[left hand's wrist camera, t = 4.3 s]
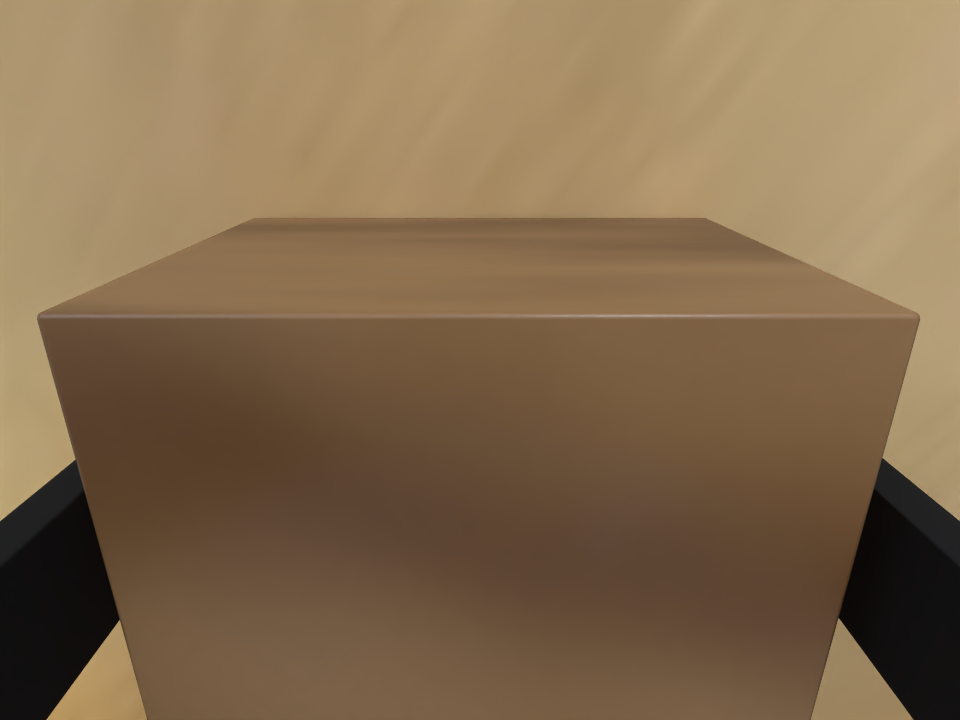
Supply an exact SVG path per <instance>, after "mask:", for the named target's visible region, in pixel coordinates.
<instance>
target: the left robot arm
mask: <svg viewBox="0 0 960 720" xmlns="http://www.w3.org/2000/svg"><path fill="white" fill-rule="evenodd" d="M839 619H840V620H841V621H842V623H843V624H844V625H845V627H846V628H847V630H848V631H849V632H850V634H851V635H852V636H853V638H854V639H855V640H856V642H857V643H858V645H859V646H860V647H861V649H862V650H863V651H864V653H865V654H866V655H867V657H868V658H869V659H870V661H871V662H872V664H873V665H874V666H875V668H876V669H877V670H878V672H879V673H880V674H881V676H882V677H883V679H884V680H885V681H886V683H887V684H888V685H889V687H890V688H891V689H892V691H893V692H894V694H895V695H896V696H897V698H898V699H899V700H900V702H901V703H902V704H903V706H904V707H905V708H906V710H907V711H908V713H909V714H910V715H911V717H912V718H913V719H914V720H960V521H959V520H957V519H956V518H955V517H954V516H953V515H951V514H950V513H949V512H948V511H946V510H945V509H944V508H943V507H942V506H940V505H939V504H938V503H937V502H935V501H934V500H933V499H932V498H931V497H929V496H928V495H927V494H926V493H924V492H923V491H922V490H921V489H920V488H918V487H917V486H916V485H915V484H913V483H912V482H911V481H910V480H909V479H907V478H906V477H905V476H904V475H902V474H901V473H900V472H899V471H898V470H896V469H895V468H894V467H893V466H891V465H890V464H889V463H888V462H886V461H885V460H884V459H883V458H882V460H881V464H880V468H879V471H878V475H877V479H876V482H875V486H874V489H873V493H872V497H871V500H870V504H869V508H868V511H867V515H866V519H865V522H864V526H863V530H862V533H861V537H860V541H859V544H858V548H857V552H856V555H855V559H854V563H853V566H852V570H851V573H850V577H849V581H848V584H847V588H846V592H845V595H844V599H843V603H842V606H841V610H840V614H839ZM119 620H120V618H119V614H118V611H117V607H116V603H115V600H114V596H113V593H112V589H111V585H110V582H109V578H108V574H107V571H106V567H105V564H104V560H103V556H102V553H101V549H100V545H99V542H98V538H97V535H96V531H95V527H94V524H93V520H92V516H91V513H90V509H89V506H88V502H87V498H86V495H85V491H84V487H83V484H82V480H81V476H80V473H79V469H78V466H77V462H76V460H75V461H74V462H72V463H71V464H70V465H69V466H67V467H66V468H65V469H64V470H62V471H61V472H60V473H59V474H58V475H56V476H55V477H54V478H53V479H51V480H50V481H49V482H48V483H47V484H45V485H44V486H43V487H42V488H40V489H39V490H38V491H37V492H36V493H34V494H33V495H32V496H31V497H29V498H28V499H27V500H26V501H25V502H23V503H22V504H21V505H20V506H18V507H17V508H16V509H15V510H14V511H12V512H11V513H10V514H9V515H7V516H6V517H5V518H4V519H3V520H1V521H0V720H46V719H47V718H48V717H49V715H50V714H51V713H52V711H53V710H54V708H55V707H56V706H57V704H58V703H59V702H60V700H61V699H62V698H63V696H64V695H65V694H66V692H67V691H68V689H69V688H70V687H71V685H72V684H73V683H74V681H75V680H76V679H77V677H78V676H79V674H80V673H81V672H82V670H83V669H84V668H85V666H86V665H87V664H88V662H89V661H90V659H91V658H92V657H93V655H94V654H95V653H96V651H97V650H98V649H99V647H100V646H101V645H102V643H103V642H104V640H105V639H106V638H107V636H108V635H109V634H110V632H111V631H112V630H113V628H114V627H115V625H116V624H117V623H118V621H119Z"/></svg>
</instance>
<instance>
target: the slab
mask: <svg viewBox="0 0 960 720" xmlns="http://www.w3.org/2000/svg"><path fill="white" fill-rule="evenodd" d="M37 320H38V324H39V328H40V331H41V335H42V339H43V342H44V346H45V350H46V353H47V357H48V360H49V364H50V368H51V371H52V375H53V379H54V382H55V386H56V389H57V393H58V397H59V400H60V404H61V408H62V411H63V415H64V418H65V422H66V426H67V429H68V433H69V437H70V440H71V444H72V447H73V451H74V455H75V458H76V462H77V466H78V469H79V473H80V476H81V480H82V484H83V487H84V491H85V495H86V498H87V502H88V506H89V509H90V513H91V516H92V520H93V524H94V527H95V531H96V535H97V538H98V542H99V545H100V549H101V553H102V556H103V560H104V564H105V567H106V571H107V574H108V578H109V582H110V585H111V589H112V593H113V596H114V600H115V603H116V607H117V611H118V614H119V618H120V622H121V625H122V629H123V632H124V636H125V640H126V643H127V647H128V651H129V654H130V658H131V662H132V665H133V669H134V672H135V676H136V680H137V683H138V687H139V691H140V694H141V698H142V701H143V705H144V709H145V712H146V716H147V720H811V716H812V712H813V709H814V705H815V701H816V698H817V694H818V690H819V687H820V683H821V679H822V676H823V672H824V668H825V665H826V661H827V657H828V654H829V650H830V646H831V643H832V639H833V636H834V632H835V628H836V625H837V621H838V617H839V614H840V610H841V606H842V603H843V599H844V595H845V592H846V588H847V584H848V581H849V577H850V573H851V570H852V566H853V563H854V559H855V555H856V552H857V548H858V544H859V541H860V537H861V533H862V530H863V526H864V522H865V519H866V515H867V511H868V508H869V504H870V500H871V497H872V493H873V489H874V486H875V482H876V479H877V475H878V471H879V468H880V464H881V460H882V457H883V453H884V449H885V446H886V442H887V438H888V435H889V431H890V427H891V424H892V420H893V416H894V413H895V409H896V405H897V402H898V398H899V395H900V391H901V387H902V384H903V380H904V376H905V373H906V369H907V365H908V362H909V358H910V354H911V351H912V347H913V343H914V340H915V336H916V332H917V329H918V325H919V321H920V316H919V314H918V313H916V312H913V311H911V310H909V309H907V308H904V307H902V306H900V305H898V304H896V303H893V302H891V301H889V300H887V299H884V298H882V297H880V296H878V295H875V294H873V293H871V292H869V291H867V290H864V289H862V288H860V287H858V286H855V285H853V284H851V283H849V282H846V281H844V280H842V279H840V278H837V277H835V276H833V275H831V274H829V273H826V272H824V271H822V270H820V269H817V268H815V267H813V266H811V265H808V264H806V263H804V262H802V261H799V260H797V259H795V258H793V257H791V256H788V255H786V254H784V253H782V252H779V251H777V250H775V249H773V248H770V247H768V246H766V245H764V244H762V243H759V242H757V241H755V240H753V239H750V238H748V237H746V236H744V235H741V234H739V233H737V232H735V231H732V230H730V229H728V228H726V227H724V226H721V225H719V224H717V223H715V222H712V221H710V220H708V219H706V218H253V219H251V220H249V221H247V222H244V223H242V224H240V225H238V226H235V227H233V228H231V229H229V230H226V231H224V232H222V233H219V234H217V235H215V236H213V237H210V238H208V239H206V240H204V241H201V242H199V243H197V244H195V245H192V246H190V247H188V248H186V249H183V250H181V251H179V252H176V253H174V254H172V255H170V256H167V257H165V258H163V259H161V260H158V261H156V262H154V263H152V264H149V265H147V266H145V267H143V268H140V269H138V270H136V271H134V272H131V273H129V274H127V275H124V276H122V277H120V278H118V279H115V280H113V281H111V282H109V283H106V284H104V285H102V286H100V287H97V288H95V289H93V290H91V291H88V292H86V293H84V294H82V295H79V296H77V297H75V298H72V299H70V300H68V301H66V302H63V303H61V304H59V305H57V306H54V307H52V308H50V309H48V310H45V311H43V312H41V313H39V314H38V317H37Z"/></svg>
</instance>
